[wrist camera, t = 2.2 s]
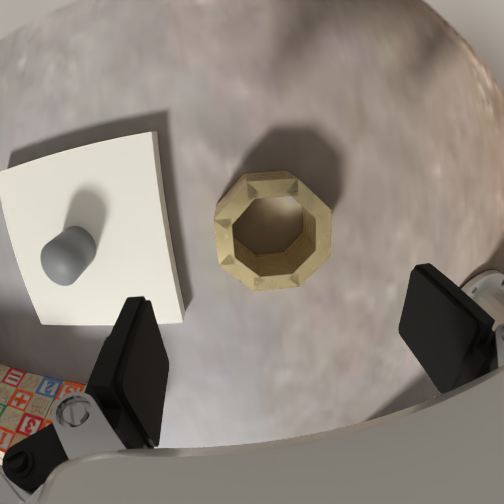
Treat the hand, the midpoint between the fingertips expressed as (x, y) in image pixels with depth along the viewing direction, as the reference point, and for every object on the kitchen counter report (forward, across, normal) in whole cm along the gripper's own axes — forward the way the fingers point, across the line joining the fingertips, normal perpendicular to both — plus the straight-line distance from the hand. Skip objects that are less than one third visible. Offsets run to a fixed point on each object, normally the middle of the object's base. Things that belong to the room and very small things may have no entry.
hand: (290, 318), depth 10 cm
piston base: (+12, +13, 0) cm, 18 cm away
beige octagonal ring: (+12, -1, 0) cm, 12 cm away
